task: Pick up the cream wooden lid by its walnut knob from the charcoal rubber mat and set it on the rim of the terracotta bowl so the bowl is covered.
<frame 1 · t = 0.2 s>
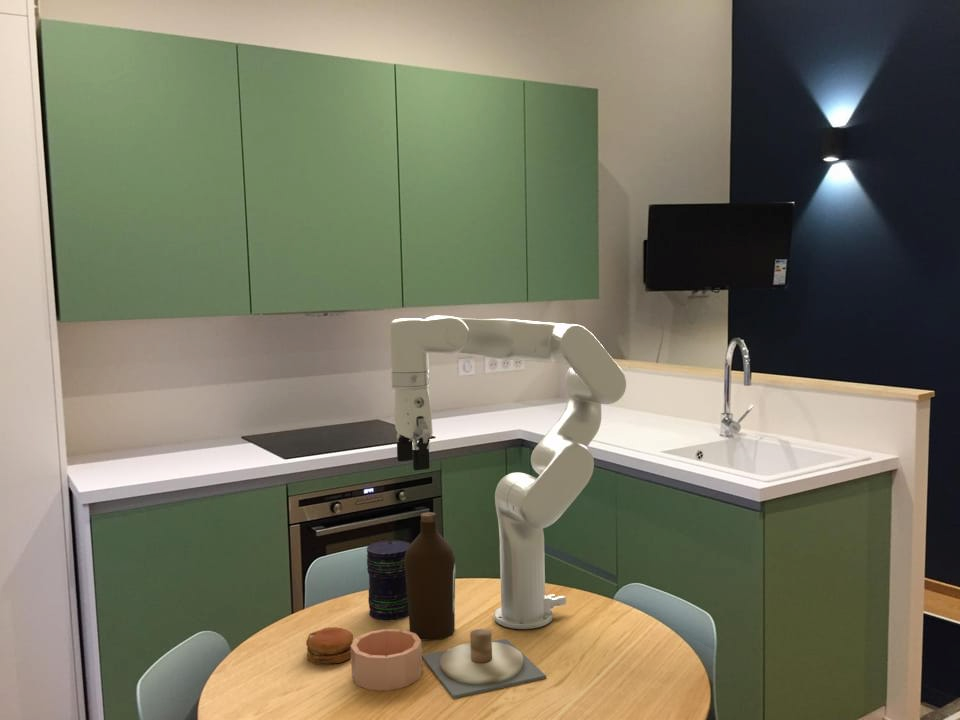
hand: (413, 464, 168), 36 cm above the table, tool pointing down, fingers open, 9 cm apart
olive oil: (432, 632, 175), on the table
burger: (330, 656, 165), on the table
bowl: (387, 674, 156), on the table
mat: (481, 667, 157), on the table
lid: (481, 665, 157), resting on mat
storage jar: (391, 613, 186), on the table
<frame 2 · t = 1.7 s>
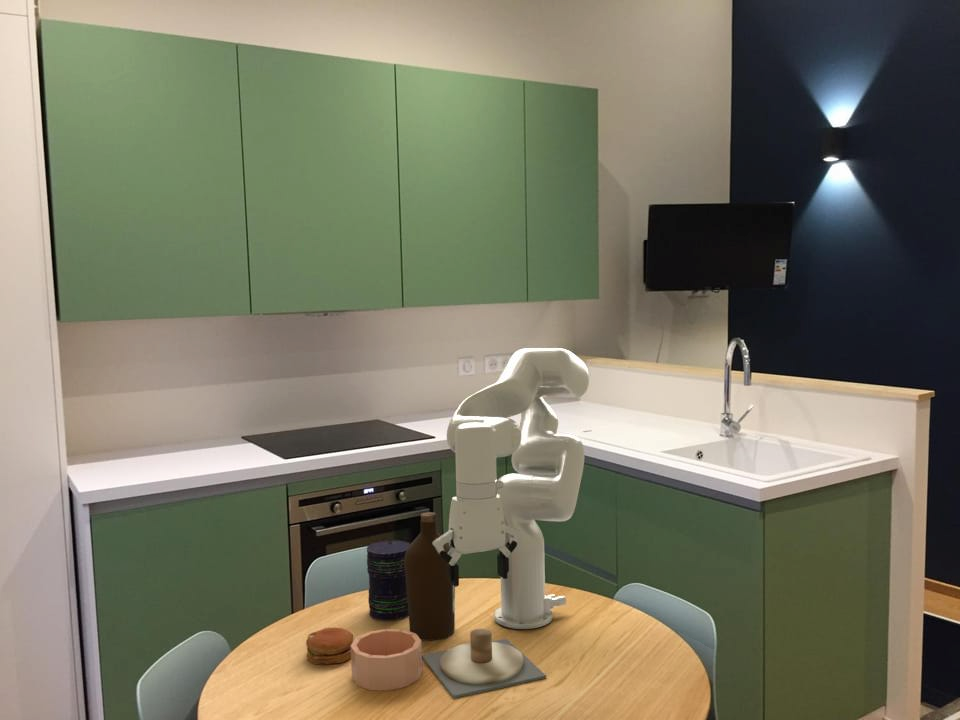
hand: (478, 580, 156), 17 cm above the table, tool pointing down, fingers open, 9 cm apart
nothing on the table moved.
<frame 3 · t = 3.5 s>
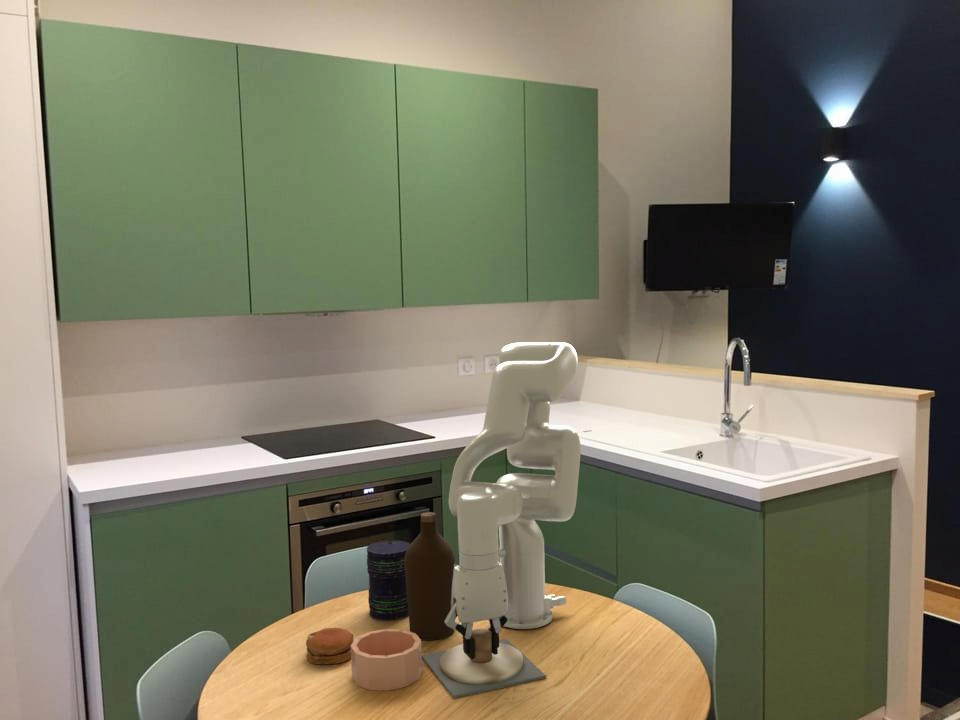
hand: (481, 653, 157), 3 cm above the table, tool pointing down, fingers closed on lid, 4 cm apart
lid: (481, 664, 157), point 1 cm above the table, touching gripper, mat
everything else where it was.
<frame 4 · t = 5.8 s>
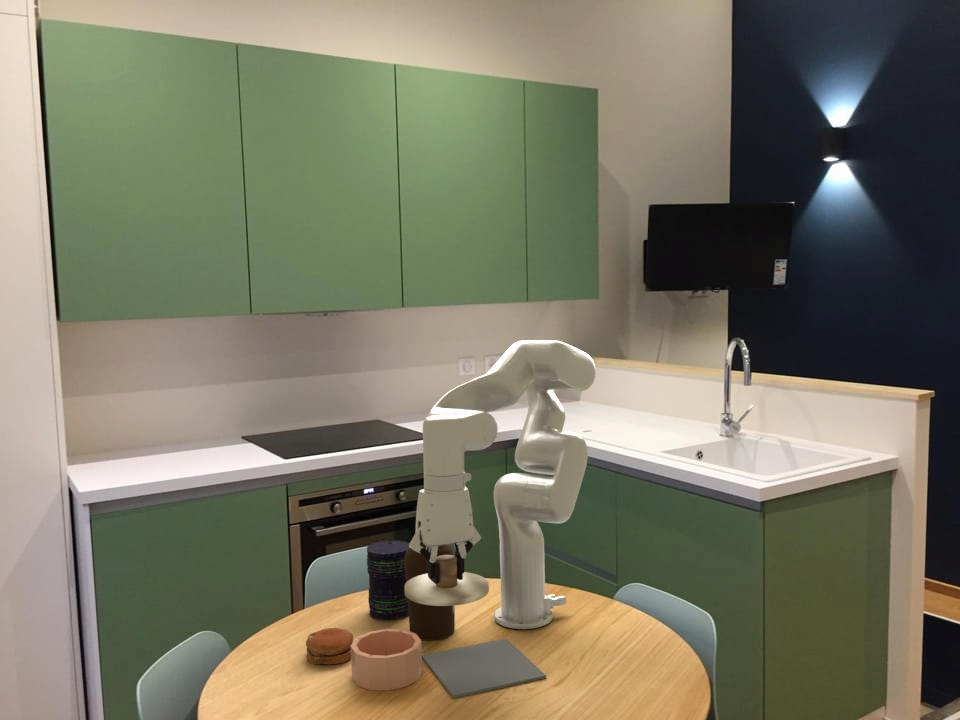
hand: (446, 578, 155), 18 cm above the table, tool pointing down, fingers closed on lid, 4 cm apart
lid: (446, 590, 155), point 15 cm above the table, touching gripper
everything else where it was.
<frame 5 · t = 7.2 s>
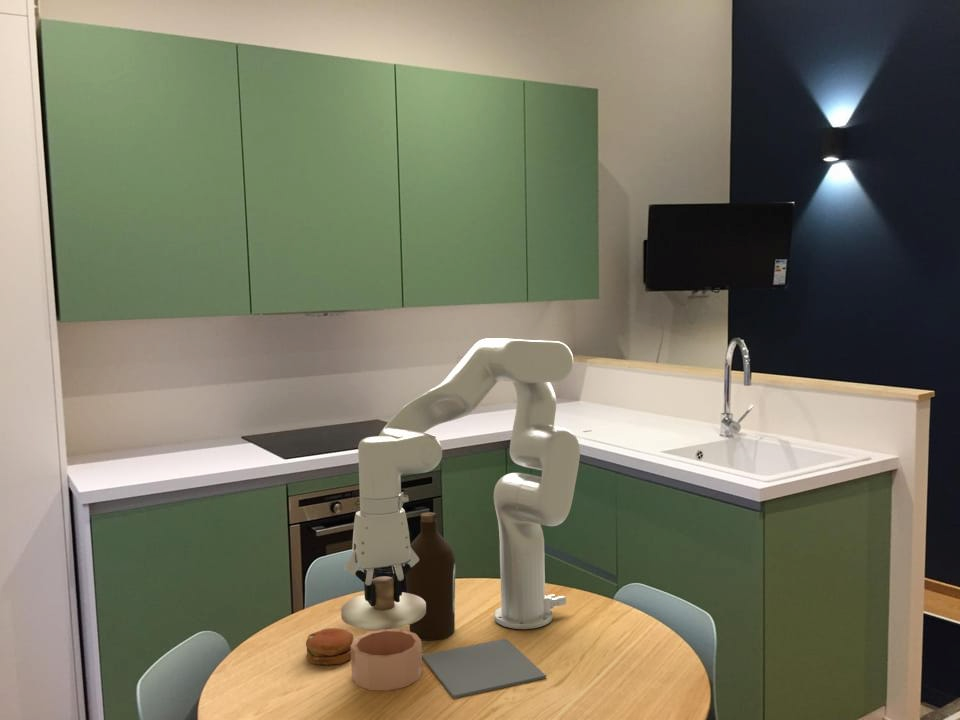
hand: (383, 600, 154), 14 cm above the table, tool pointing down, fingers closed on lid, 4 cm apart
lid: (383, 612, 155), point 12 cm above the table, touching gripper
everything else where it was.
when the fingers open (10 cm above the table, at t = 8.2 s): lid drops 1 cm, resting on bowl.
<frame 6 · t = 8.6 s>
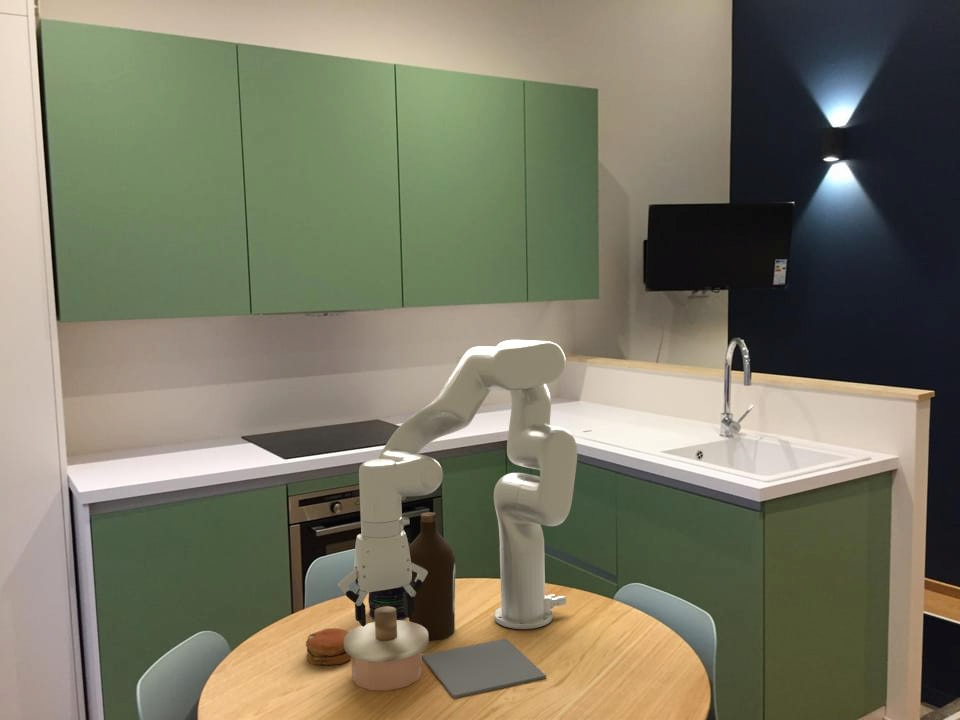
hand: (385, 619, 155), 11 cm above the table, tool pointing down, fingers open, 8 cm apart
lid: (386, 642, 155), point 6 cm above the table, touching bowl
everything else where it was.
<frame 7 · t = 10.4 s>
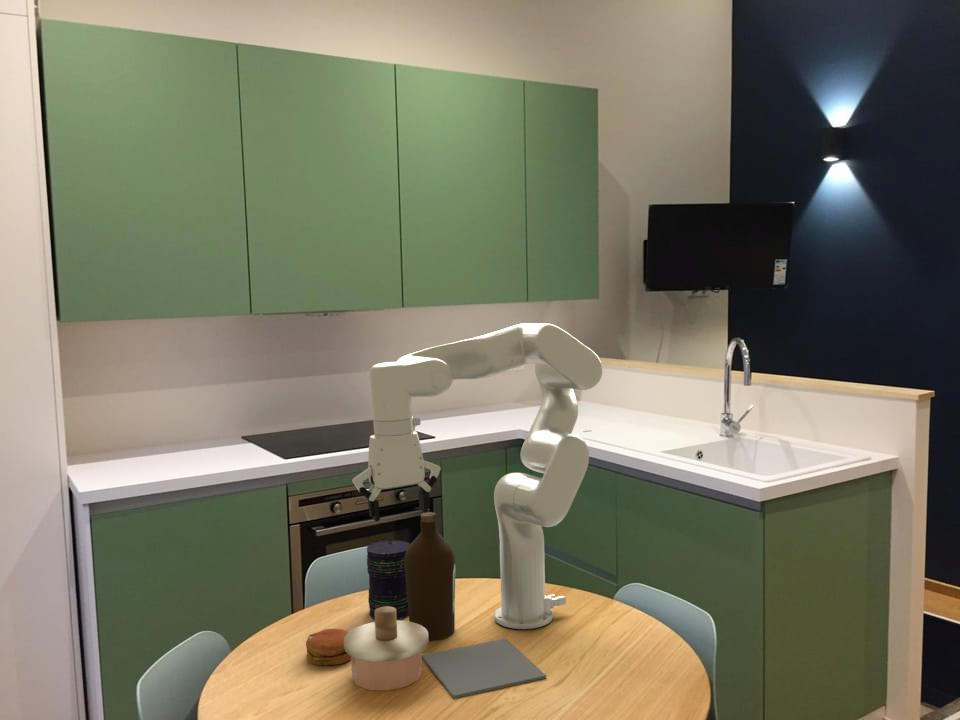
hand: (400, 515, 160), 28 cm above the table, tool pointing down, fingers open, 9 cm apart
nothing on the table moved.
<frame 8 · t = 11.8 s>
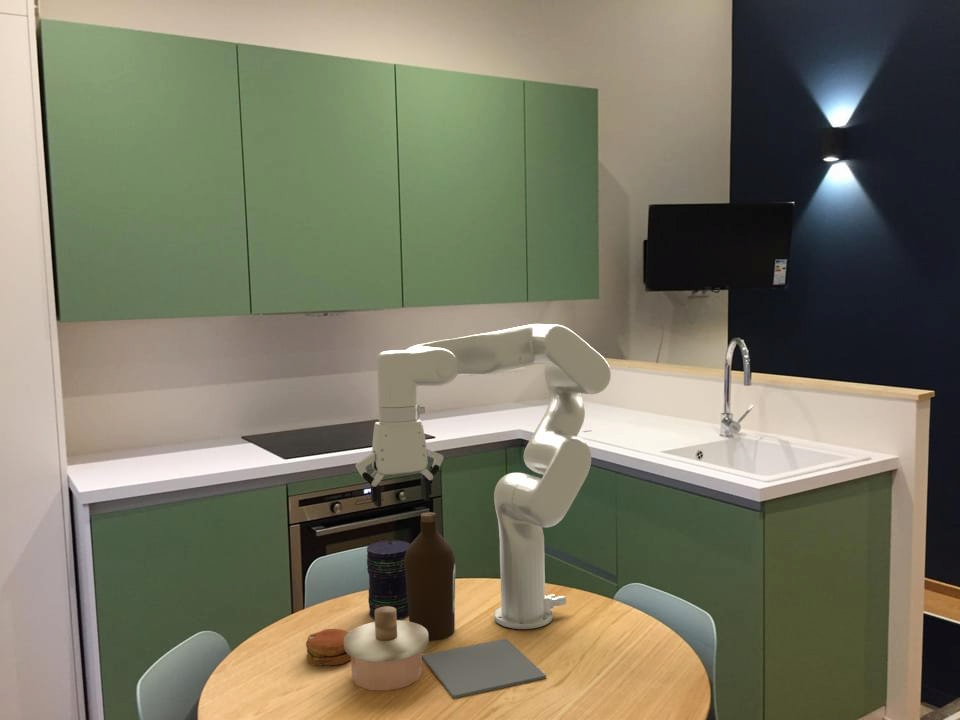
hand: (401, 502, 162), 30 cm above the table, tool pointing down, fingers open, 9 cm apart
nothing on the table moved.
at the end: lid 0.1 cm off-centre on the bowl, point 6.0 cm above the bowl's base; lid tilted 0°; the gripper is holding nothing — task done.
